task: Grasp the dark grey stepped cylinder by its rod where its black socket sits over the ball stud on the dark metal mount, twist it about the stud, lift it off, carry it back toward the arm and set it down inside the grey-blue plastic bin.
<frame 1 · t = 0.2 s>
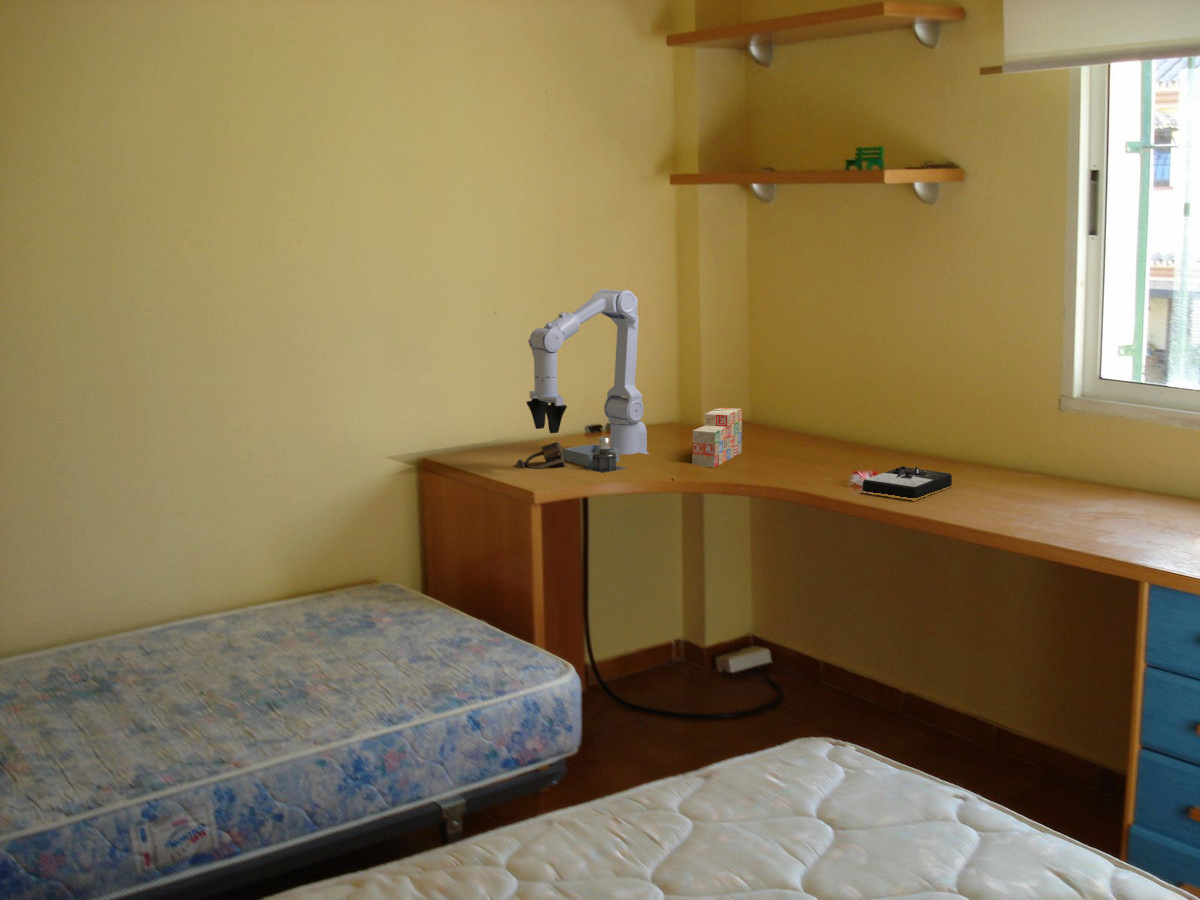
hand: (546, 430, 308), 10 cm above the table, fingers open, 7 cm apart
stud mount: (604, 472, 307), on the table
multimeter: (907, 492, 284), on the table
dark brown handled cylinder: (542, 470, 311), on the table
bin: (591, 464, 316), on the table
dark grey stepped cylinder: (604, 468, 307), point 1 cm above the table, touching stud mount
stack of blocks: (717, 460, 322), on the table
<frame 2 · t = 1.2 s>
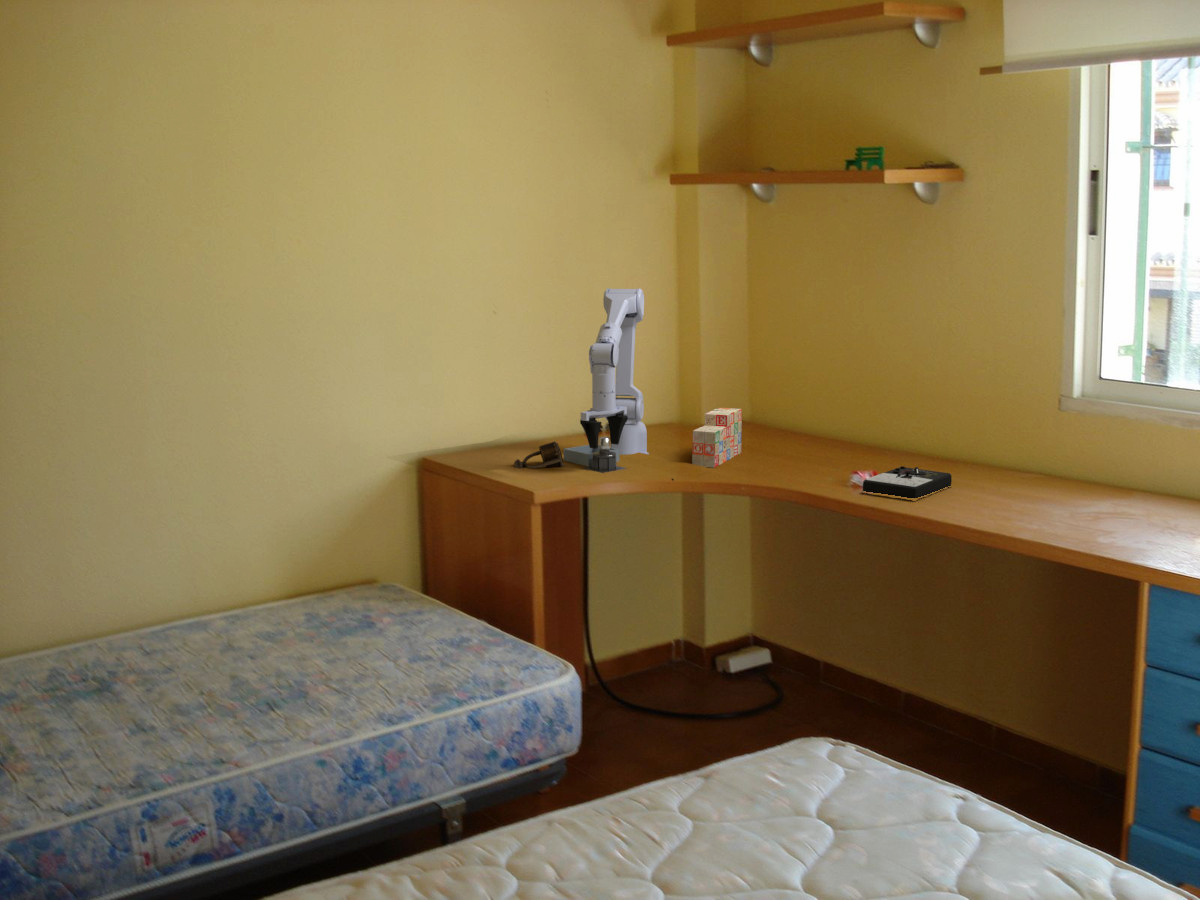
hand: (604, 446, 306), 7 cm above the table, fingers open, 7 cm apart
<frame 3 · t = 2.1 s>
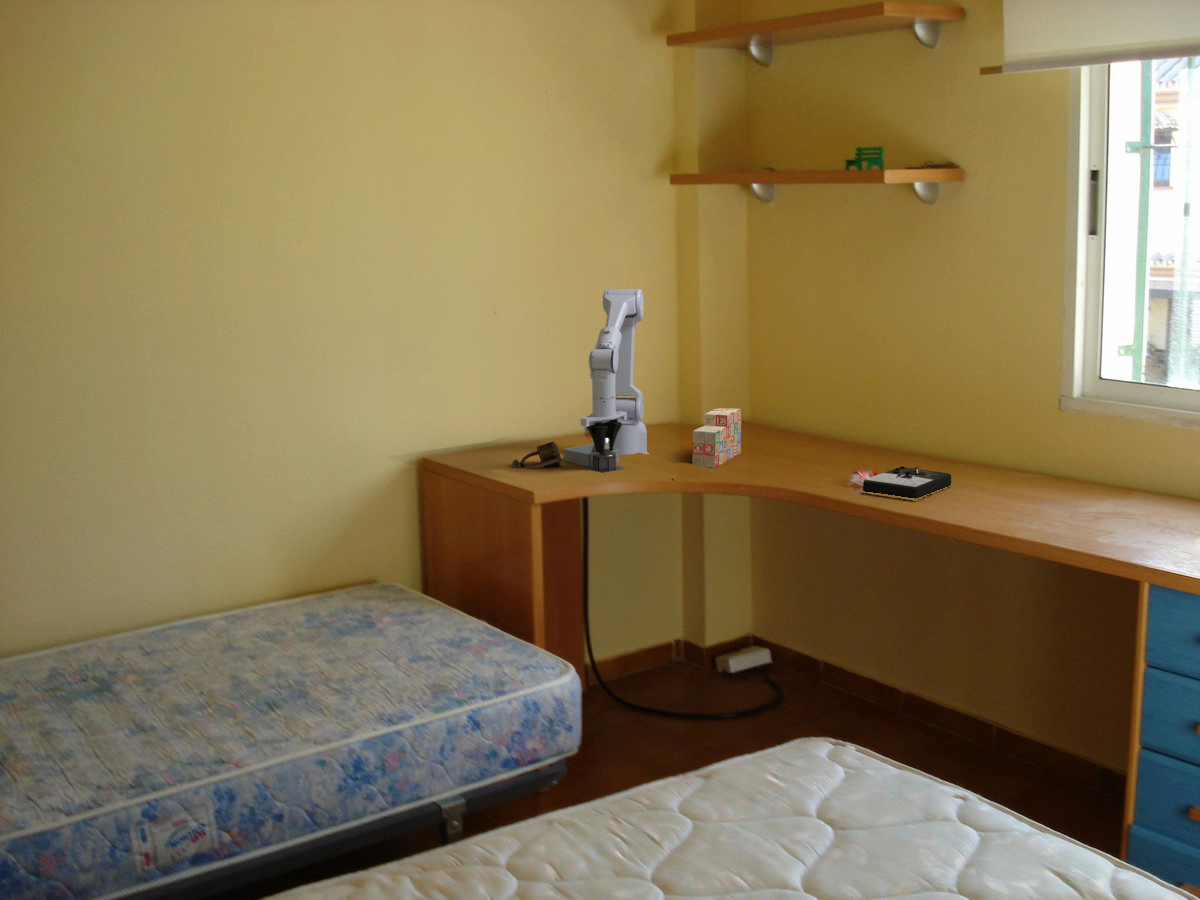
hand: (604, 451, 306), 5 cm above the table, fingers closed on dark grey stepped cylinder, 3 cm apart
dark grey stepped cylinder: (604, 468, 307), point 1 cm above the table, touching gripper, stud mount
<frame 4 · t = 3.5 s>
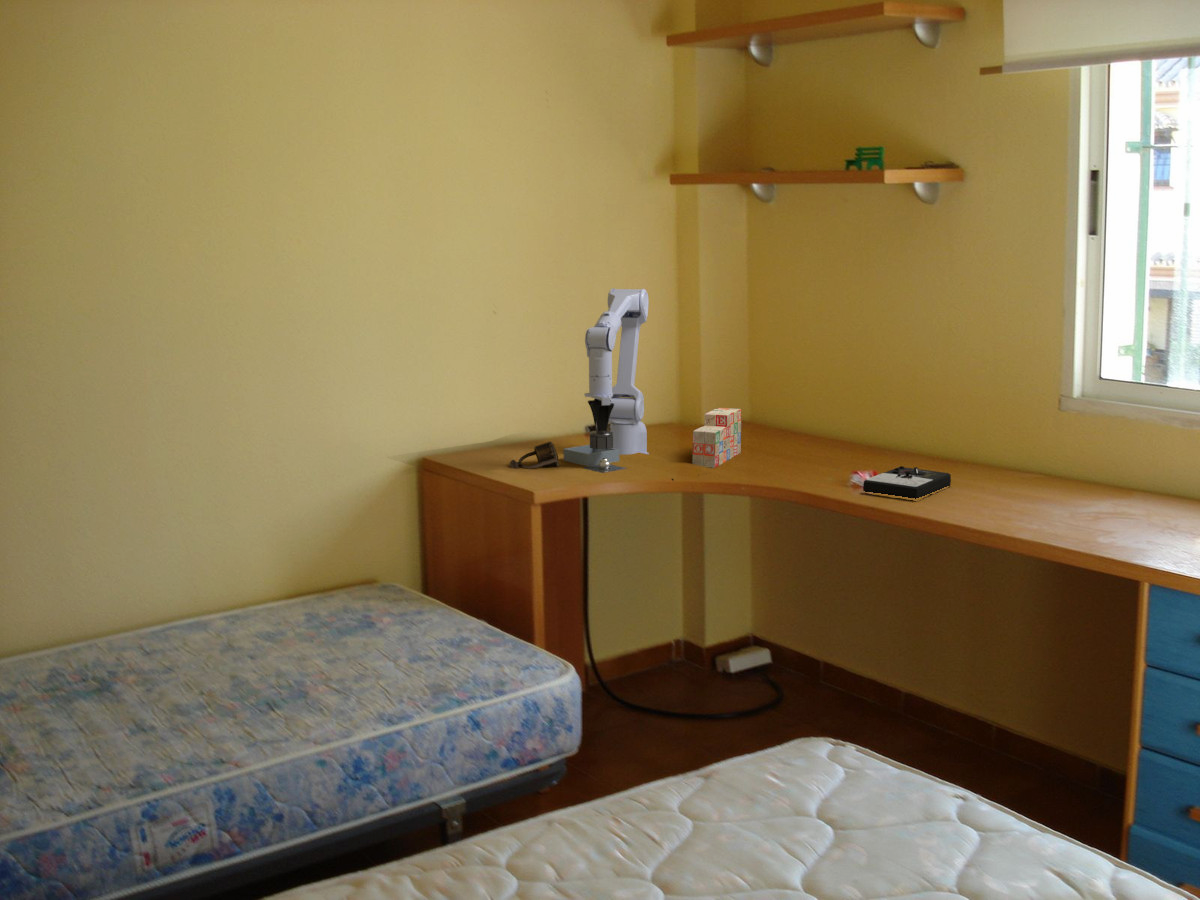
hand: (601, 429, 307), 10 cm above the table, fingers closed on dark grey stepped cylinder, 3 cm apart
dark grey stepped cylinder: (601, 447, 308), point 6 cm above the table, touching gripper
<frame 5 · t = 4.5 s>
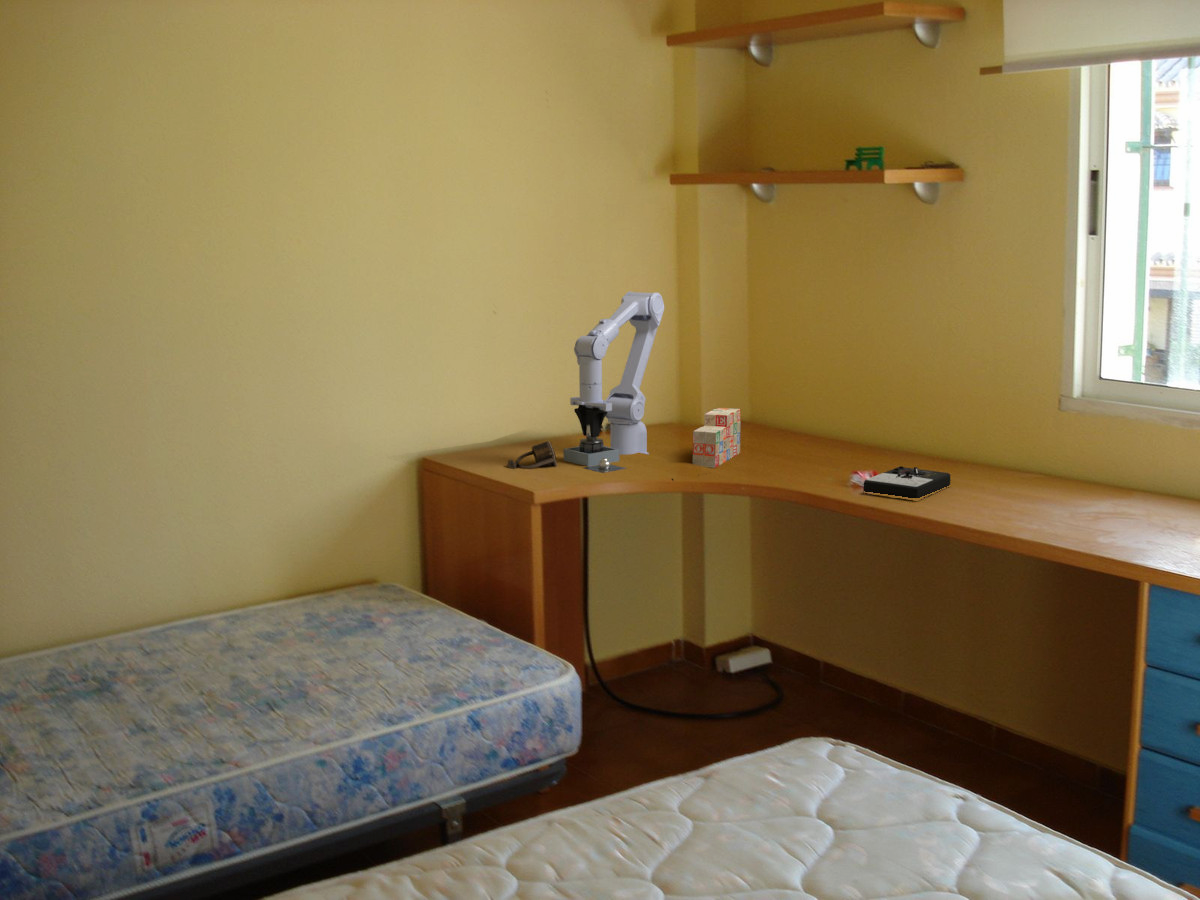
hand: (591, 435, 315), 7 cm above the table, fingers closed on dark grey stepped cylinder, 3 cm apart
dark grey stepped cylinder: (591, 454, 316), point 3 cm above the table, touching gripper
when the fingers open (6 cm above the table, at t = 5.1 s): dark grey stepped cylinder stays where it is, resting on bin.
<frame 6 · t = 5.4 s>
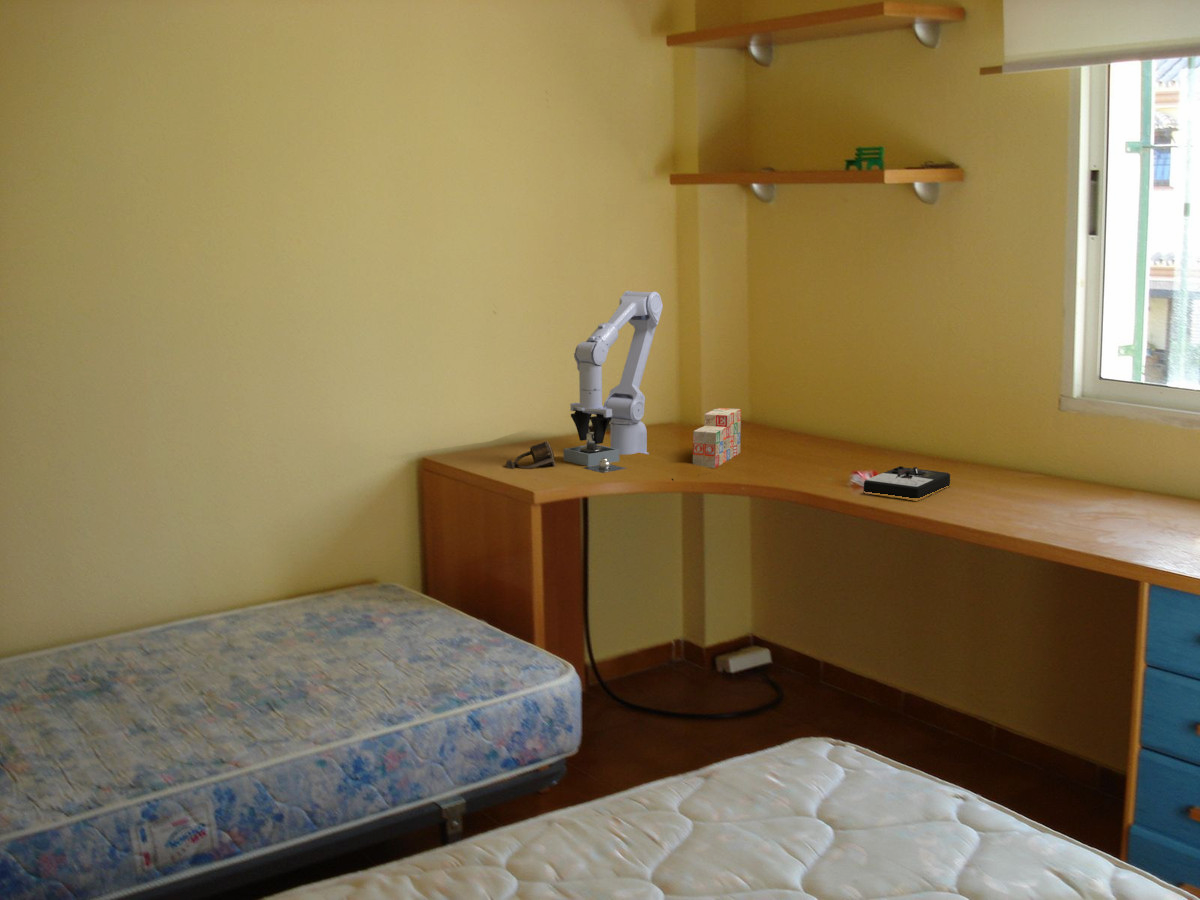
hand: (591, 441, 315), 6 cm above the table, fingers open, 6 cm apart
dark grey stepped cylinder: (591, 462, 316), resting on bin
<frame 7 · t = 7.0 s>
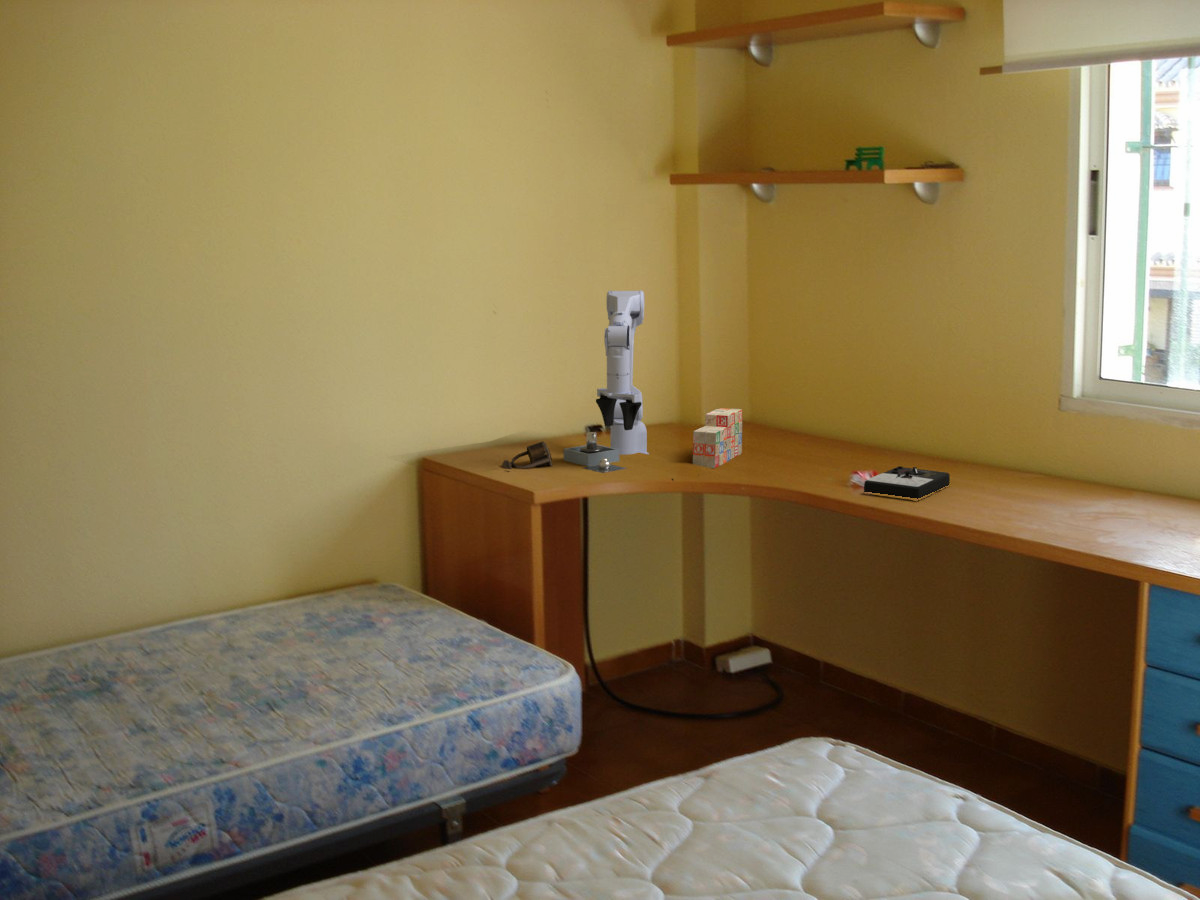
hand: (618, 427, 309), 10 cm above the table, fingers open, 7 cm apart
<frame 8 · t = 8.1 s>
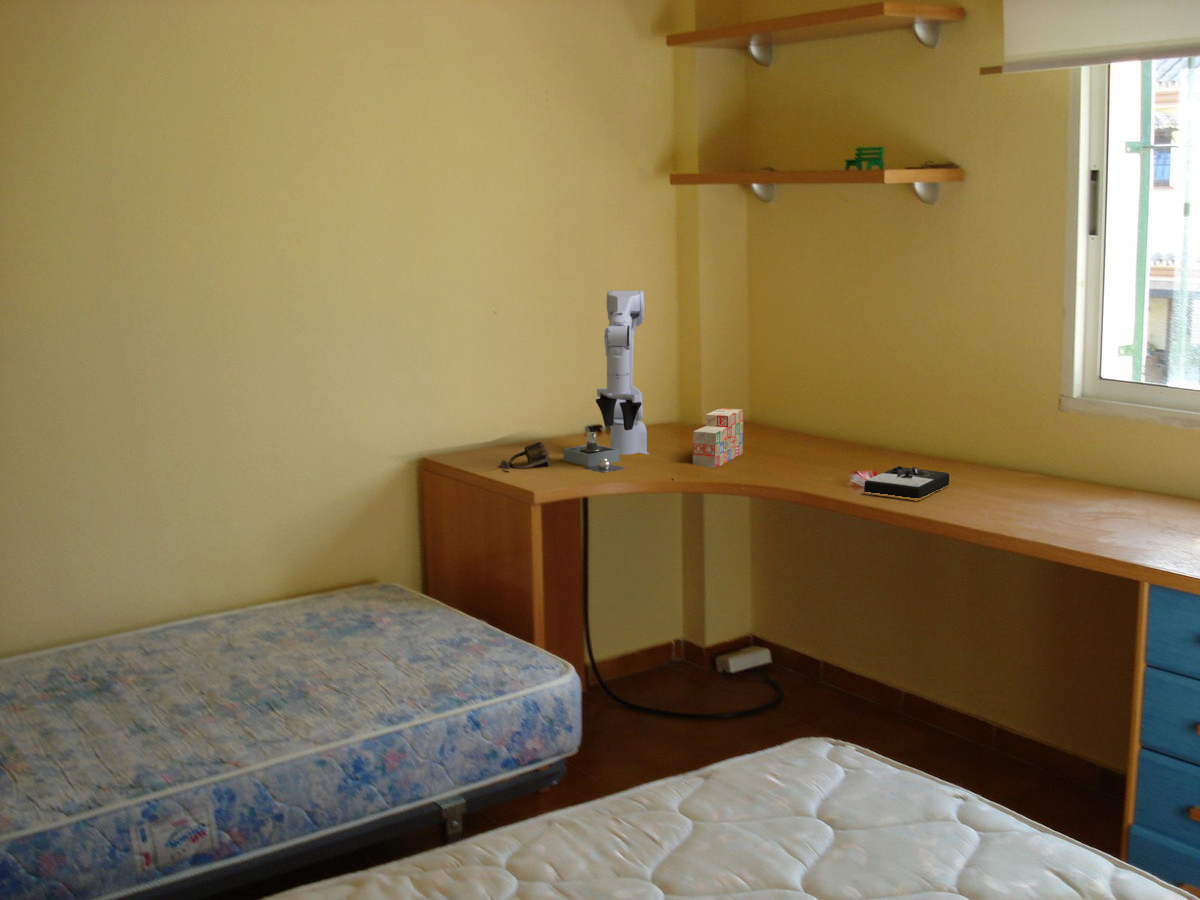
hand: (618, 427, 309), 10 cm above the table, fingers open, 7 cm apart
at the end: dark grey stepped cylinder inside the target area on the bin (0.1 cm from its centre), point 0.5 cm above the bin's base; the gripper is holding nothing; dark grey stepped cylinder moved 10.2 cm from its start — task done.
